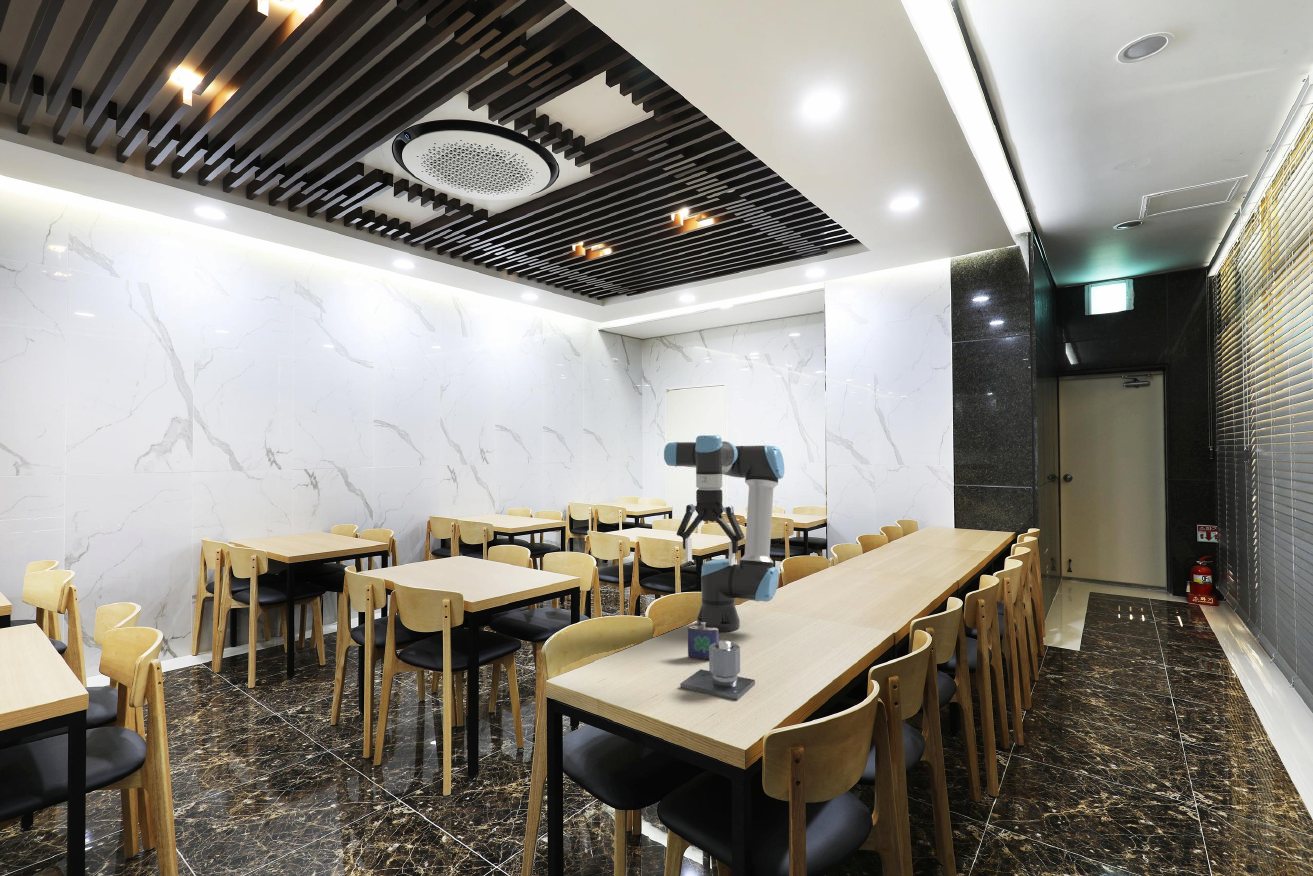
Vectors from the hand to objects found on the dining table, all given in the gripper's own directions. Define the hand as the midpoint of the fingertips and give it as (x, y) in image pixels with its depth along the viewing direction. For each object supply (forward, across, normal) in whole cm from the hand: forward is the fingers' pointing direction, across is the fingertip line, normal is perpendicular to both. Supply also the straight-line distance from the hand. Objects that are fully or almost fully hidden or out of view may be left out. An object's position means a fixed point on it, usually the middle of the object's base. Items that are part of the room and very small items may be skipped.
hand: (710, 562), depth 177 cm
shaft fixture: (+29, +8, -13) cm, 33 cm away
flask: (+30, -5, +5) cm, 31 cm away
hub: (+25, +10, -13) cm, 30 cm away
